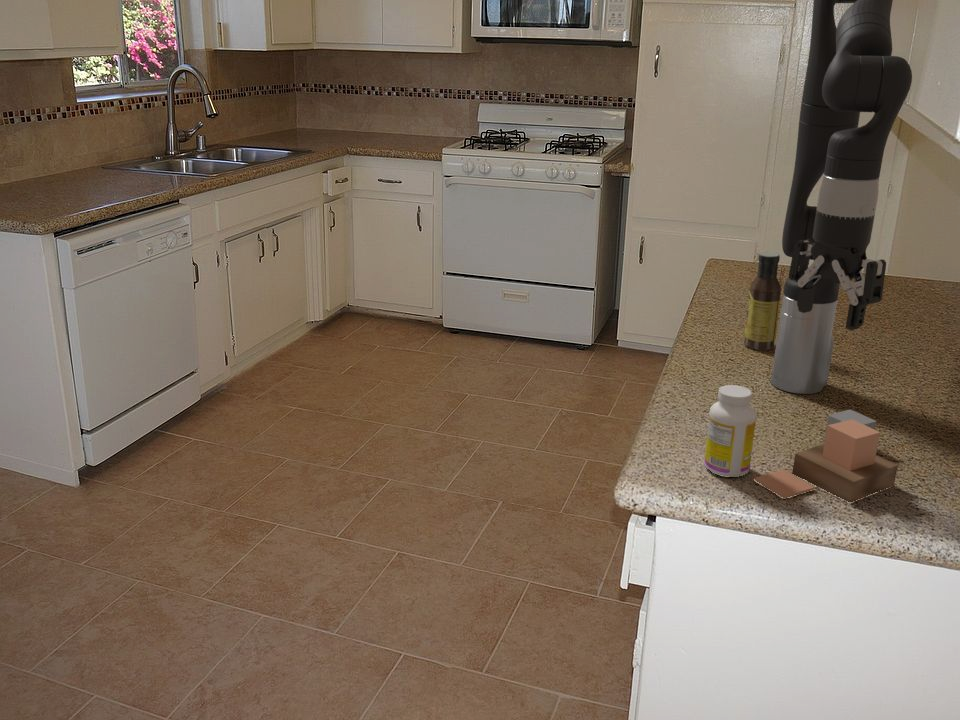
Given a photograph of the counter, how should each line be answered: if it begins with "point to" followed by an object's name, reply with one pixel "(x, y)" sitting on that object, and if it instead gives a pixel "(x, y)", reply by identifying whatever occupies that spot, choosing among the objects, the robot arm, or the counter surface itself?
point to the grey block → (848, 416)
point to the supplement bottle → (730, 432)
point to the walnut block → (844, 475)
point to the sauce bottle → (763, 304)
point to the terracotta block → (851, 444)
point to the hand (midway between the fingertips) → (827, 319)
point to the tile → (784, 483)
